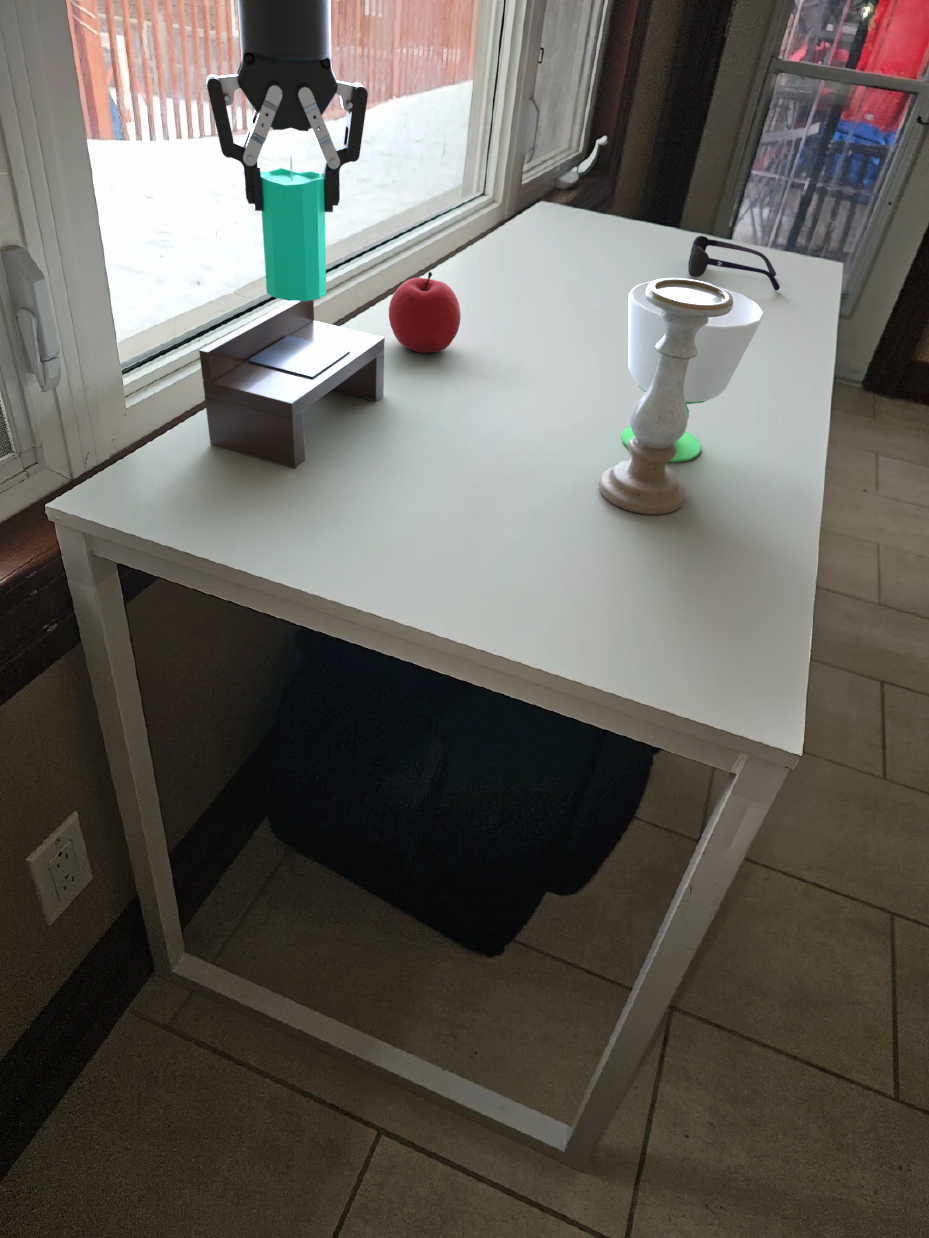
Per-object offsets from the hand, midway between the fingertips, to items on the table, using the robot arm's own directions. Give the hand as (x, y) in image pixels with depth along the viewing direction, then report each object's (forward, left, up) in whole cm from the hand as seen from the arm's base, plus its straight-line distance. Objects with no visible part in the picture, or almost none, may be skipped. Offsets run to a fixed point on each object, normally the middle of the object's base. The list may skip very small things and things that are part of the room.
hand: (293, 209), depth 79 cm
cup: (+39, -10, -22) cm, 46 cm away
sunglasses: (+80, +47, -22) cm, 95 cm away
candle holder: (+32, -20, -22) cm, 43 cm away
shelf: (0, 0, -21) cm, 21 cm away
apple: (+18, +19, -22) cm, 34 cm away
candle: (0, 0, -8) cm, 8 cm away
